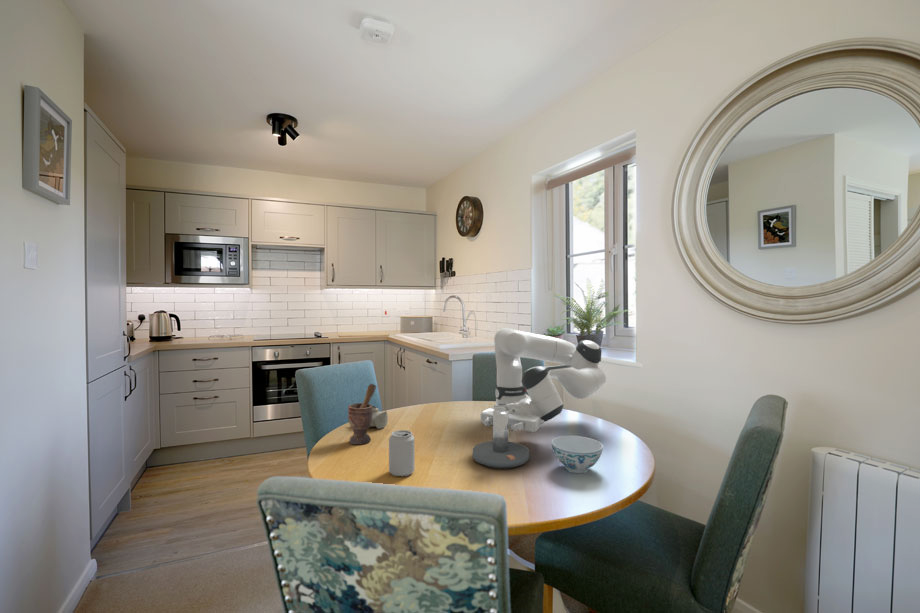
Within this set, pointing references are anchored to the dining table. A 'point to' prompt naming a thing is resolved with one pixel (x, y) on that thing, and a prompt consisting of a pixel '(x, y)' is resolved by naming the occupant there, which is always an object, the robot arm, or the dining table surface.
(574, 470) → the chinaware
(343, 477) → the dining table surface
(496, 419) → the clear drinking glass
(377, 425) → the ceramic sculpture
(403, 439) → the can
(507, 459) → the disc
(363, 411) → the mortar and pestle
